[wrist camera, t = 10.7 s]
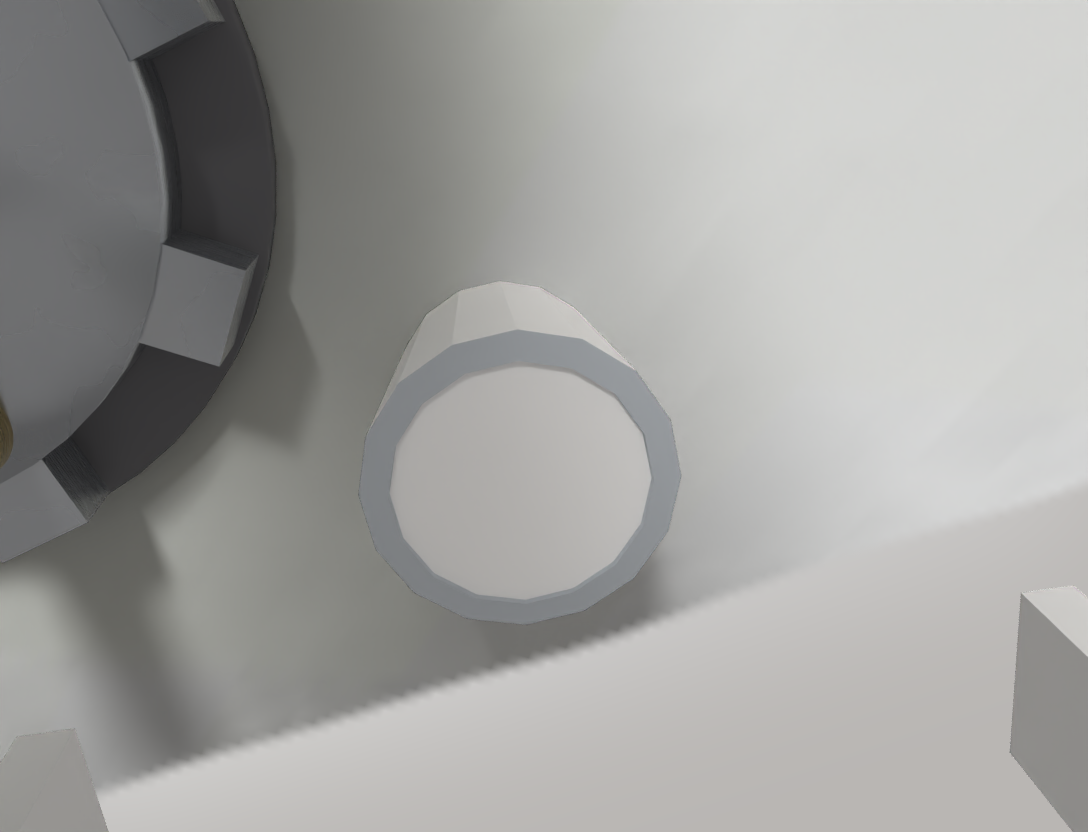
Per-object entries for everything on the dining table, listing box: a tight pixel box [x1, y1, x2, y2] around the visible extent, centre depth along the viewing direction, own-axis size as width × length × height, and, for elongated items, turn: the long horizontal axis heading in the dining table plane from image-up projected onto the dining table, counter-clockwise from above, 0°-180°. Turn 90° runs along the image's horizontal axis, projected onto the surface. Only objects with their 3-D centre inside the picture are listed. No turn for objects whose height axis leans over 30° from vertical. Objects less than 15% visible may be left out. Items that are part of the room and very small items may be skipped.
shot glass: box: [358, 281, 681, 625], centre depth 25 cm, size 7×7×7 cm
